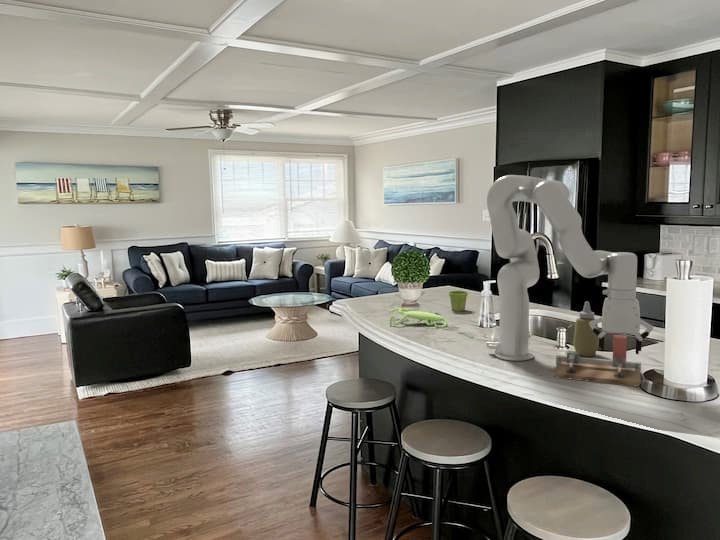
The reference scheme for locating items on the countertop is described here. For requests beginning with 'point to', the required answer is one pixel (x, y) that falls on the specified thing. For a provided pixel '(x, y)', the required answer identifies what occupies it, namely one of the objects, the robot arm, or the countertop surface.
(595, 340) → the squeeze bottle
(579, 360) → the trammel rail
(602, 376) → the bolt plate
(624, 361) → the sliding leg
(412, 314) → the figurine
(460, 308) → the plant pot
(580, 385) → the countertop surface
